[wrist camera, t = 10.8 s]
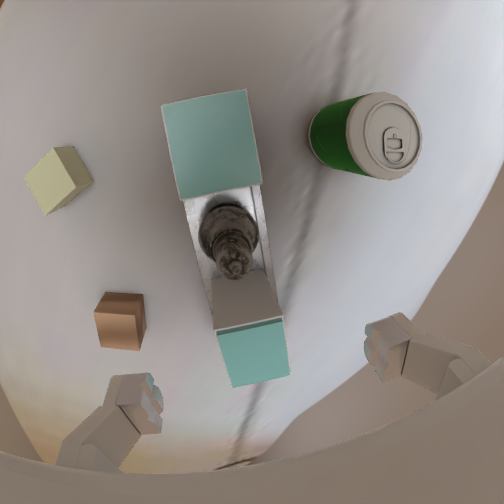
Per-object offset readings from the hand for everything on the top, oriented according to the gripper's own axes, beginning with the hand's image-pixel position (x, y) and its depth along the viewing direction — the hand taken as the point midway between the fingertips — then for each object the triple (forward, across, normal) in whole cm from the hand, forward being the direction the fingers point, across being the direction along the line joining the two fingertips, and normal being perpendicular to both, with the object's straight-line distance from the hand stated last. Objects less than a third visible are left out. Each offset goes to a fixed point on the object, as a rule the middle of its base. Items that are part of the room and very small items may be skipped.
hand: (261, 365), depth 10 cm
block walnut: (+24, +15, +10) cm, 30 cm away
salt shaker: (+23, 0, +1) cm, 23 cm away
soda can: (+24, -14, -6) cm, 29 cm away
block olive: (+24, +17, -8) cm, 31 cm away
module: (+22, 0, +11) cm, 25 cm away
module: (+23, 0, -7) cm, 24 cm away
